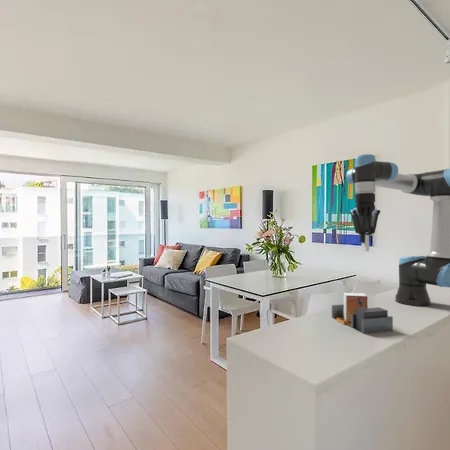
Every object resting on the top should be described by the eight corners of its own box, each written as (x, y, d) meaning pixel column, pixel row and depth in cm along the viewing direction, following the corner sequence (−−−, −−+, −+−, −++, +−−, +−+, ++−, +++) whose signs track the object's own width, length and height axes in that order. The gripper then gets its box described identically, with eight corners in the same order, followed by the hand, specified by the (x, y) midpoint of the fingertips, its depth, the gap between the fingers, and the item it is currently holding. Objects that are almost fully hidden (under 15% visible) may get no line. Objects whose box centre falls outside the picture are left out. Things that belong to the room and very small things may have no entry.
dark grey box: (379, 326, 119) (379, 307, 119) (387, 329, 115) (387, 310, 115) (355, 328, 117) (355, 309, 117) (363, 332, 113) (363, 312, 113)
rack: (357, 317, 133) (357, 303, 133) (392, 333, 114) (392, 316, 114) (330, 319, 130) (330, 305, 130) (361, 336, 111) (361, 319, 111)
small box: (345, 322, 123) (345, 295, 123) (343, 318, 129) (343, 292, 129) (367, 323, 122) (367, 296, 122) (364, 319, 127) (364, 292, 127)
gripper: (372, 194, 135) (372, 249, 135) (345, 193, 132) (345, 250, 132) (385, 192, 127) (385, 251, 127) (356, 192, 124) (357, 252, 125)
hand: (365, 250), depth 130 cm, fingers closed
